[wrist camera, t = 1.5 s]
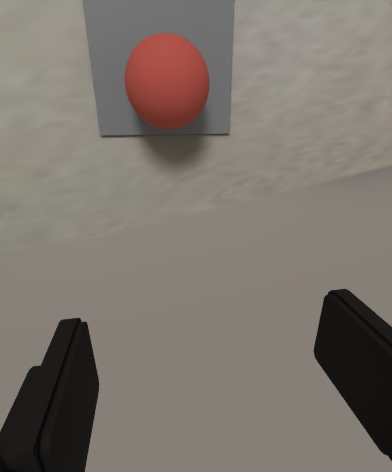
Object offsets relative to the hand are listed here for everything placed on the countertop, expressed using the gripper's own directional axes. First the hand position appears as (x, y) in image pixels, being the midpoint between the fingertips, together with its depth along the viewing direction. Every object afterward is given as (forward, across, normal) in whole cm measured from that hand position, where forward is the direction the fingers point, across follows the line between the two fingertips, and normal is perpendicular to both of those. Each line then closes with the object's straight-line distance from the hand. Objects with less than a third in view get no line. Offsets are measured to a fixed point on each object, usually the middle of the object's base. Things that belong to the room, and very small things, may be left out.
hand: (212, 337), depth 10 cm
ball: (+15, 0, -9) cm, 18 cm away
